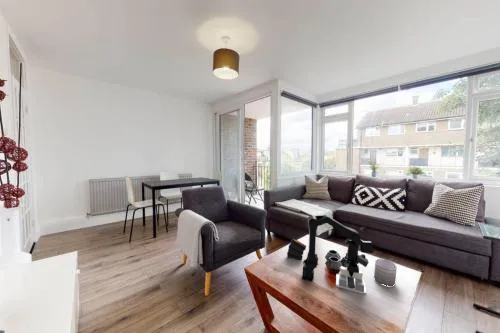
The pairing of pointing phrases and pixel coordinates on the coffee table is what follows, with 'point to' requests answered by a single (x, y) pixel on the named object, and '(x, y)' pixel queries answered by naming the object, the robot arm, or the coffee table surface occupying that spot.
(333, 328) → the coffee table surface
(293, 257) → the magazine
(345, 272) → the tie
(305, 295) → the coffee table surface
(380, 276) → the can
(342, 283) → the white twin post stand
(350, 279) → the lead
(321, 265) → the coffee table surface
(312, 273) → the robot arm
